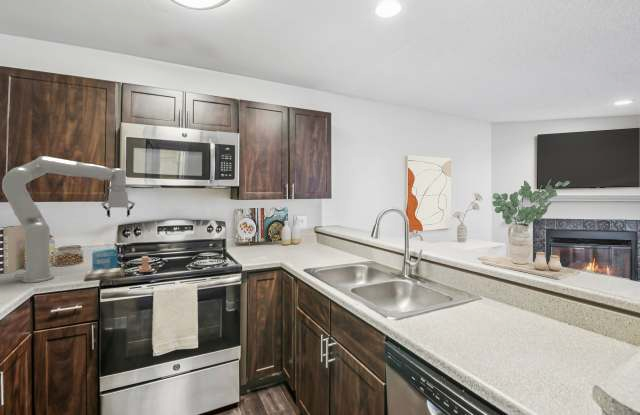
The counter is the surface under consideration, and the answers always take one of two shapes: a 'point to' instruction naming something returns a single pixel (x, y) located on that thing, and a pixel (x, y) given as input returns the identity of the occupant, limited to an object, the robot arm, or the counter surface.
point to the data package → (105, 259)
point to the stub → (144, 265)
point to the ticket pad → (104, 274)
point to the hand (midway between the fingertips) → (118, 216)
